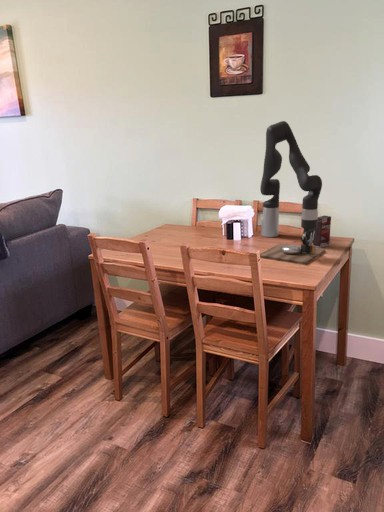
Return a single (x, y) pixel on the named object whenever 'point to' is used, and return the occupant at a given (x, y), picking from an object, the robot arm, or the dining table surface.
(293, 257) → the board
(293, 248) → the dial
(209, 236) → the dining table surface
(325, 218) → the supplement box
